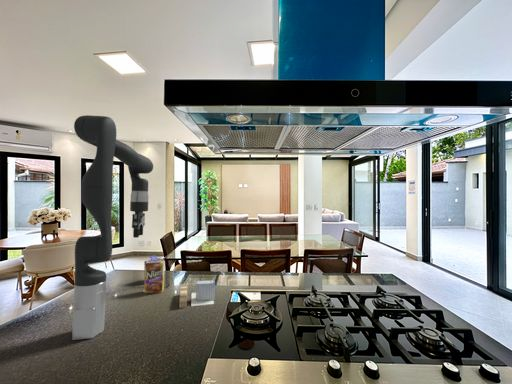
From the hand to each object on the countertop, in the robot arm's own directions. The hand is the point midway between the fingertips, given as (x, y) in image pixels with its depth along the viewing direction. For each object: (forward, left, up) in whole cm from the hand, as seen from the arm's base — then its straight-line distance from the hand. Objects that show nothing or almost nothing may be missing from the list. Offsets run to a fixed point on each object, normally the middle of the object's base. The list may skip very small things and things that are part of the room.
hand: (138, 236), depth 112 cm
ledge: (-2, -21, -30) cm, 37 cm away
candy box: (+13, -6, -30) cm, 33 cm away
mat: (-2, -29, -30) cm, 42 cm away
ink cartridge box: (+32, -3, -30) cm, 44 cm away
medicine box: (-3, -26, -26) cm, 37 cm away
